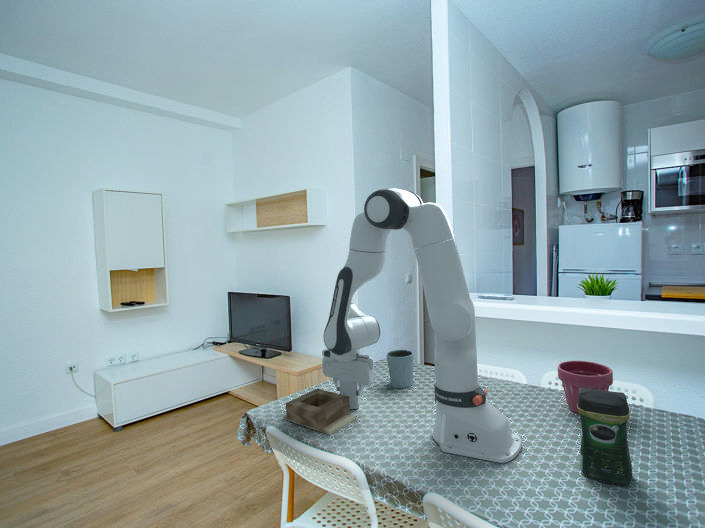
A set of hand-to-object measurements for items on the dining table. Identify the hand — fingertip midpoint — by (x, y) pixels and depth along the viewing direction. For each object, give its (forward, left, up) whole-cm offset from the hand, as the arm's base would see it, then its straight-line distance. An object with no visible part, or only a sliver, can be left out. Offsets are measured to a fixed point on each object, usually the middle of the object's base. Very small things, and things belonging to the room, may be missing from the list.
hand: (349, 393), depth 127 cm
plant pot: (-63, -35, -5) cm, 72 cm away
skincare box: (0, 0, -5) cm, 5 cm away
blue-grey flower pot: (-4, -26, -5) cm, 27 cm away
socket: (+3, +12, -5) cm, 13 cm away
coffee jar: (-71, -1, -5) cm, 71 cm away
